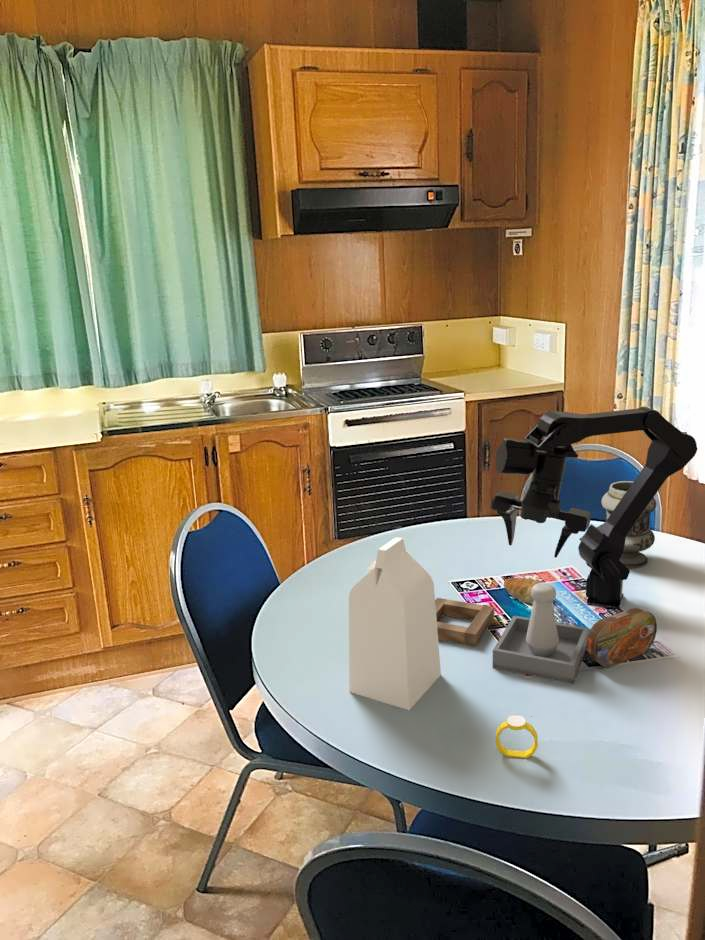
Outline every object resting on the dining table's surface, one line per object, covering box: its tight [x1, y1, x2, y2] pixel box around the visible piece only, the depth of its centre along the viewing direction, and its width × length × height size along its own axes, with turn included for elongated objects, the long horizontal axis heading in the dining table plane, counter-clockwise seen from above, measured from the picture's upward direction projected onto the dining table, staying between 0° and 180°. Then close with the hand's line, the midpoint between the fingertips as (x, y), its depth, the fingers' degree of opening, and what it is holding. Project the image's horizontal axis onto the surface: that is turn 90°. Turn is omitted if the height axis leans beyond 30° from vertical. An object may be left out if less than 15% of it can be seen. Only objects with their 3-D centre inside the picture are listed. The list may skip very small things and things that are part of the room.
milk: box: [348, 536, 442, 711], centre depth 129 cm, size 12×12×26 cm
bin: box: [492, 615, 590, 685], centre depth 138 cm, size 14×14×4 cm
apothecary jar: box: [601, 480, 657, 569], centre depth 175 cm, size 12×12×18 cm
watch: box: [495, 715, 539, 759], centre depth 112 cm, size 6×3×6 cm, turn 79°
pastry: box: [503, 577, 540, 604], centre depth 163 cm, size 9×7×4 cm
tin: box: [586, 607, 658, 668], centre depth 136 cm, size 15×3×8 cm, turn 117°
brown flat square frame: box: [435, 597, 495, 647], centre depth 150 cm, size 12×12×2 cm
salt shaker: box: [526, 582, 559, 658], centre depth 137 cm, size 6×6×13 cm
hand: (532, 550), depth 153 cm, fingers open, 9 cm apart
